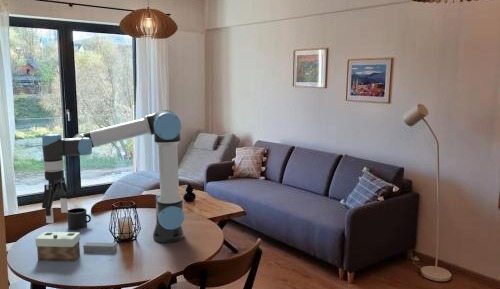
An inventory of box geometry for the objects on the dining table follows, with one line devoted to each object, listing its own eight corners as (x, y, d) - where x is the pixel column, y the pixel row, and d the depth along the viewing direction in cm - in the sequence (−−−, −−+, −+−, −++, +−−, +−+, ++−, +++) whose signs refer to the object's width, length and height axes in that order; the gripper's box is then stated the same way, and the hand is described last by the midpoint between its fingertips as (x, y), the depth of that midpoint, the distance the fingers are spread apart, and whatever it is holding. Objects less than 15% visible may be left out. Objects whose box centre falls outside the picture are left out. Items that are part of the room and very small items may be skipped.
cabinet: (80, 255, 191) (78, 233, 190) (74, 261, 186) (73, 238, 184) (44, 254, 192) (43, 232, 190) (38, 260, 186) (36, 237, 184)
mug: (87, 230, 223) (87, 213, 221) (65, 229, 223) (64, 213, 221) (94, 224, 232) (93, 208, 230) (72, 223, 232) (71, 207, 230)
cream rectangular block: (80, 239, 191) (79, 230, 191) (72, 247, 183) (72, 237, 183) (45, 239, 192) (44, 229, 191) (35, 246, 184) (35, 236, 183)
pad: (116, 249, 199) (116, 243, 199) (113, 252, 195) (113, 246, 195) (87, 248, 199) (86, 242, 199) (83, 251, 195) (83, 245, 195)
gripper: (58, 163, 195) (62, 208, 198) (29, 176, 170) (34, 227, 173) (75, 163, 194) (78, 208, 198) (48, 176, 170) (52, 227, 173)
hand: (57, 217), depth 186 cm, fingers open, 13 cm apart
